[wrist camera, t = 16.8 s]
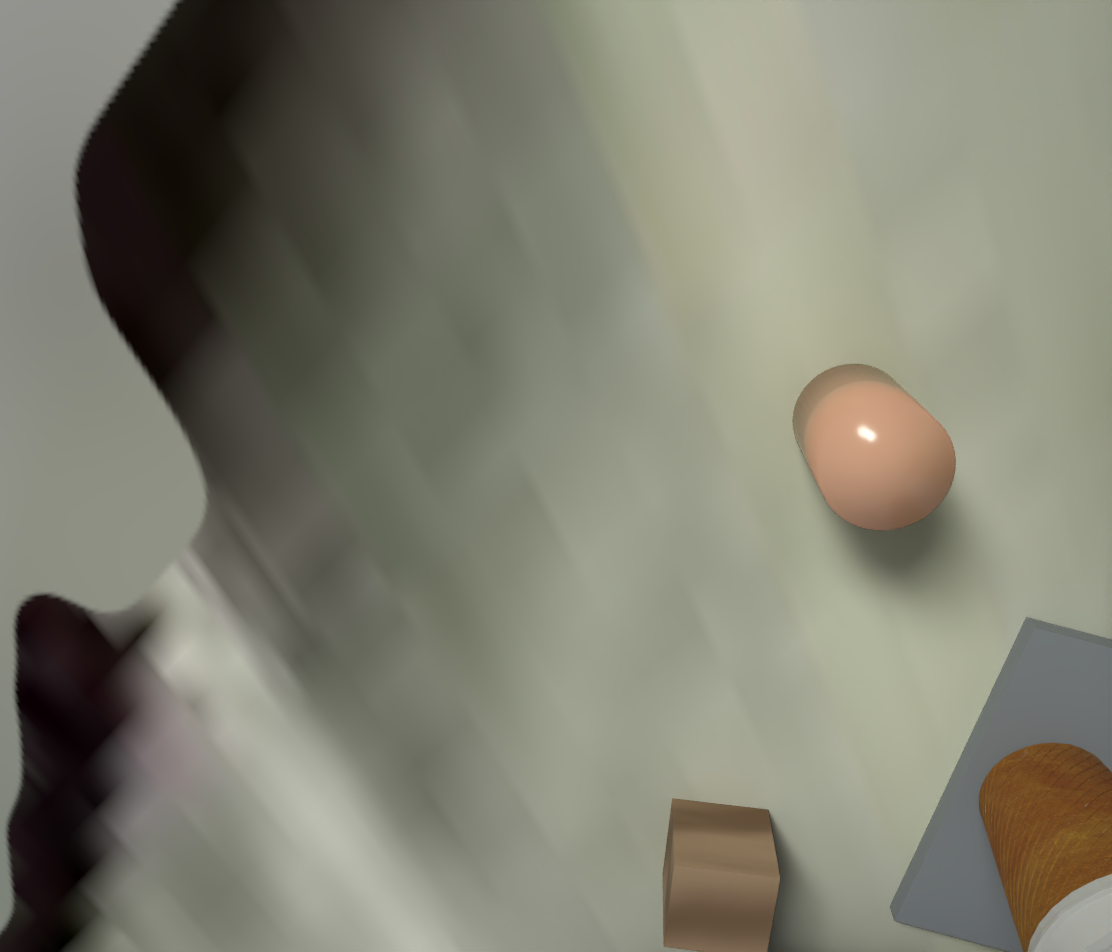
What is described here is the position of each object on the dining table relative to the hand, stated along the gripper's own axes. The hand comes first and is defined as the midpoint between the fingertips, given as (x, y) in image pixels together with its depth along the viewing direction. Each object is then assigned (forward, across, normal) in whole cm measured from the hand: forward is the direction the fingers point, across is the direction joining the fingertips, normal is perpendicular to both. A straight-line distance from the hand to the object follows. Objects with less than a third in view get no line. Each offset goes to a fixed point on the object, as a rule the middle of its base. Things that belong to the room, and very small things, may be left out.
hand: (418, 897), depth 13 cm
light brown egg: (+32, +12, +1) cm, 34 cm away
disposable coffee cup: (+31, +27, -14) cm, 43 cm away
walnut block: (+32, +13, -23) cm, 41 cm away
